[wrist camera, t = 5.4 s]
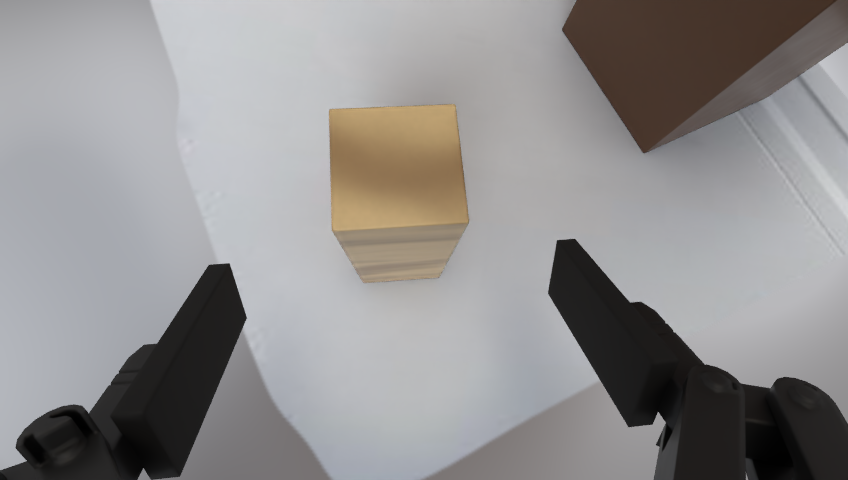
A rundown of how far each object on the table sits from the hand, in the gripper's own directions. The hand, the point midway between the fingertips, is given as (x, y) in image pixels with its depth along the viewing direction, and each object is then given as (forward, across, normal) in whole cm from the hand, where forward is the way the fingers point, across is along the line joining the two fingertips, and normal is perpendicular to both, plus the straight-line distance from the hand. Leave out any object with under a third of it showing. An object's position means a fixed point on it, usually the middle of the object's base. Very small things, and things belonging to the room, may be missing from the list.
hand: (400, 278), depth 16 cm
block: (+10, 0, +4) cm, 10 cm away
